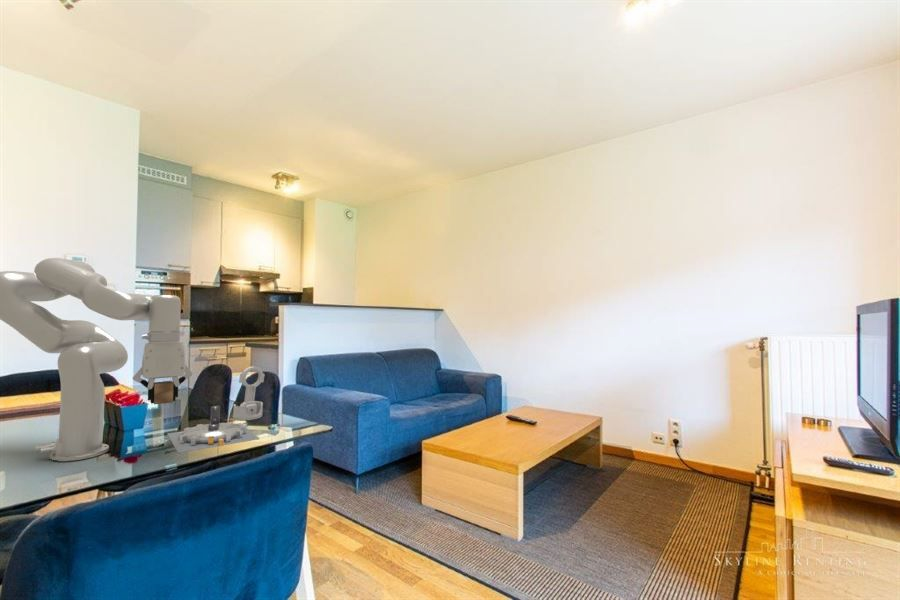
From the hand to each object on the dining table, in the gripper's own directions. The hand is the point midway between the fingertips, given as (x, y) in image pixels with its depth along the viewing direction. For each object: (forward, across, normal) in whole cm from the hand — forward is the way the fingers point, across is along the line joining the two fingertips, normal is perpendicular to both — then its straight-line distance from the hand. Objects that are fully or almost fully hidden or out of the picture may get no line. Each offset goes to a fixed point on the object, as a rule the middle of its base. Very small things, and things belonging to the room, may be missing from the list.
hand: (163, 400), depth 120 cm
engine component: (+16, +30, +27) cm, 43 cm away
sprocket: (+14, +14, +7) cm, 21 cm away
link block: (0, 0, 0) cm, 0 cm away
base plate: (+16, +14, +7) cm, 22 cm away
